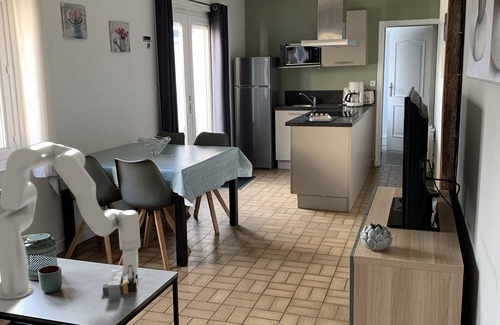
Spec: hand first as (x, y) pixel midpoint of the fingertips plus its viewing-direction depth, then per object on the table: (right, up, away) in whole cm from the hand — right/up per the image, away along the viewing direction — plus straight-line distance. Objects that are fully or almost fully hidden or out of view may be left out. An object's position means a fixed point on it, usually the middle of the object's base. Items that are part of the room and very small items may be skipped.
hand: (133, 288), depth 190 cm
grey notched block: (-6, -1, -1) cm, 6 cm away
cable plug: (-5, -1, 0) cm, 5 cm away
